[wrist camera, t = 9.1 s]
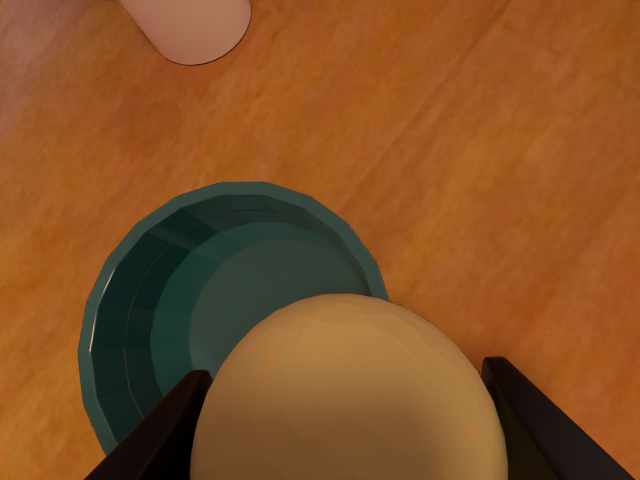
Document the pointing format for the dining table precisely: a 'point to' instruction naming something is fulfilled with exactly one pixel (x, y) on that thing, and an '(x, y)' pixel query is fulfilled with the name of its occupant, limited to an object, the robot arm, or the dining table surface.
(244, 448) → the light bulb
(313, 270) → the round teal dish
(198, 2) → the pill bottle
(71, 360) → the dining table surface
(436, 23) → the dining table surface
